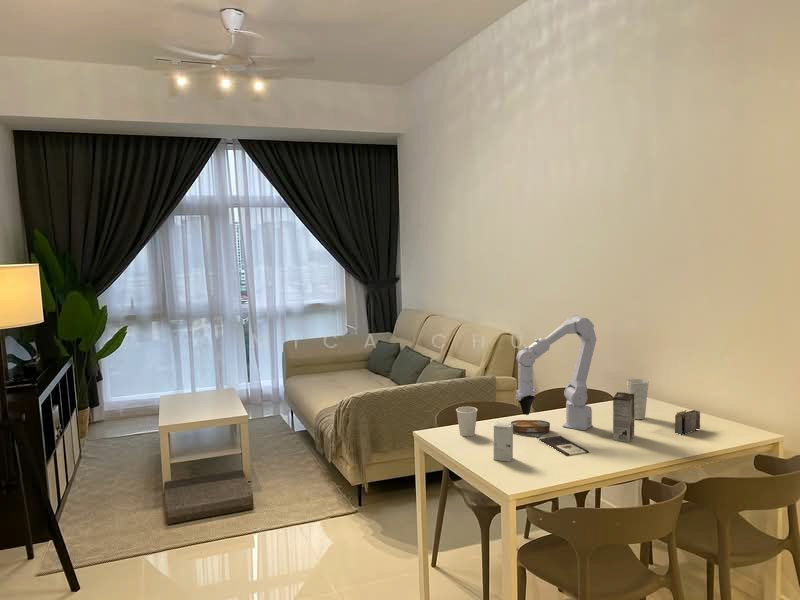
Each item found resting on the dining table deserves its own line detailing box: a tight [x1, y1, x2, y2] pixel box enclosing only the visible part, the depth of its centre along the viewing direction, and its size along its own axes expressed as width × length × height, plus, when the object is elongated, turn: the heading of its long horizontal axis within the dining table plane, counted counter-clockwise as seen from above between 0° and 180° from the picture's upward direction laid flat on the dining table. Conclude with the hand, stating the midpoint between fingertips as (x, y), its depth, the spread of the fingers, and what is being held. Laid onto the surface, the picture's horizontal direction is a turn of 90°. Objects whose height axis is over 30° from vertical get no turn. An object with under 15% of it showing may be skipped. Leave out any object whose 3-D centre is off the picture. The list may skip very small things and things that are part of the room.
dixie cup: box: [455, 406, 478, 437], centre depth 232 cm, size 8×8×10 cm
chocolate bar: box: [539, 435, 590, 457], centre depth 217 cm, size 9×1×18 cm
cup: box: [626, 378, 649, 420], centre depth 247 cm, size 8×8×16 cm
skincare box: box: [492, 421, 514, 463], centre depth 205 cm, size 6×4×12 cm
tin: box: [510, 419, 551, 433], centre depth 234 cm, size 15×3×8 cm
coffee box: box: [612, 391, 635, 443], centre depth 223 cm, size 9×6×16 cm
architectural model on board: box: [674, 409, 701, 435], centre depth 228 cm, size 11×3×10 cm, turn 120°
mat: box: [513, 431, 547, 439], centre depth 235 cm, size 17×8×1 cm, turn 53°
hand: (526, 414), depth 237 cm, fingers closed
